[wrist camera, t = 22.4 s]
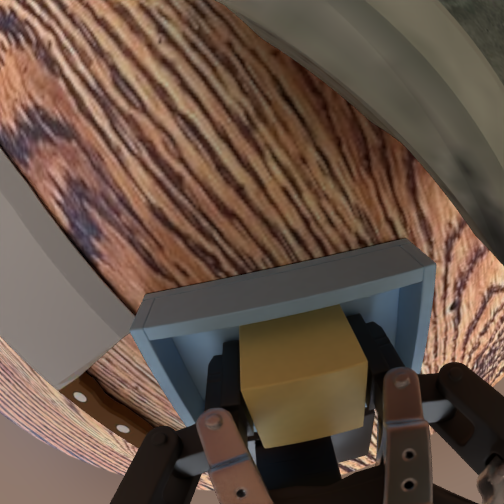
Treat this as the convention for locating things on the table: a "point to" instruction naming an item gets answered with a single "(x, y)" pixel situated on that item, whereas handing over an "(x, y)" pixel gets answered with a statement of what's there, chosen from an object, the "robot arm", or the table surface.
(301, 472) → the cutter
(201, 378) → the butter dish
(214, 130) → the table surface
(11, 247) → the kitchen cleaver
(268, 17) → the bowl
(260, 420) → the butter pat
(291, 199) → the table surface
